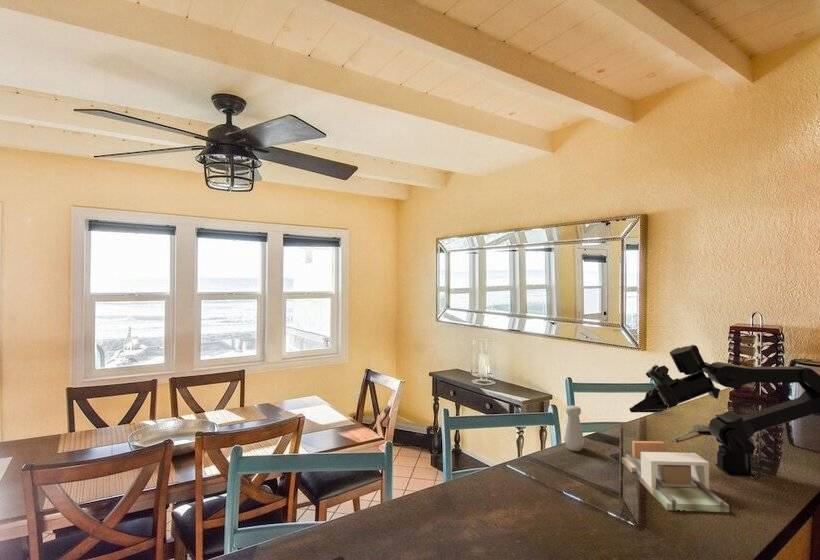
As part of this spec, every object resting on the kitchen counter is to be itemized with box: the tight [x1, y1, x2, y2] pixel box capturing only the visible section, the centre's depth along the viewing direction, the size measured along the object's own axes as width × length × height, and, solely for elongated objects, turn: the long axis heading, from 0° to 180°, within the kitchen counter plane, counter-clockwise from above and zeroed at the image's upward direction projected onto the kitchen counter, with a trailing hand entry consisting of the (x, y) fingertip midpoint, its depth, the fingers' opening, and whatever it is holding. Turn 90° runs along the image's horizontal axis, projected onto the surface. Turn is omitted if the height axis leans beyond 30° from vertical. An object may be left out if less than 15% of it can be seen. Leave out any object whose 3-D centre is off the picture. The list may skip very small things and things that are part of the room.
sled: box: [631, 440, 697, 488], centre depth 113 cm, size 8×18×5 cm, turn 174°
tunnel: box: [641, 451, 710, 490], centre depth 107 cm, size 13×6×6 cm, turn 84°
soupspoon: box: [670, 423, 710, 442], centre depth 145 cm, size 22×3×7 cm
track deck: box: [621, 454, 730, 513], centre depth 110 cm, size 13×26×2 cm, turn 174°
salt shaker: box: [563, 404, 585, 452], centre depth 135 cm, size 6×6×13 cm
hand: (631, 409), depth 122 cm, fingers open, 9 cm apart
